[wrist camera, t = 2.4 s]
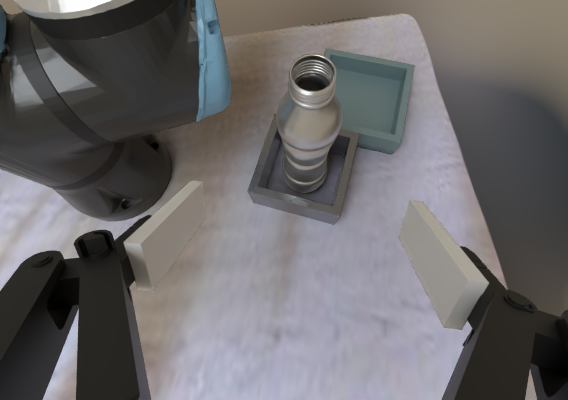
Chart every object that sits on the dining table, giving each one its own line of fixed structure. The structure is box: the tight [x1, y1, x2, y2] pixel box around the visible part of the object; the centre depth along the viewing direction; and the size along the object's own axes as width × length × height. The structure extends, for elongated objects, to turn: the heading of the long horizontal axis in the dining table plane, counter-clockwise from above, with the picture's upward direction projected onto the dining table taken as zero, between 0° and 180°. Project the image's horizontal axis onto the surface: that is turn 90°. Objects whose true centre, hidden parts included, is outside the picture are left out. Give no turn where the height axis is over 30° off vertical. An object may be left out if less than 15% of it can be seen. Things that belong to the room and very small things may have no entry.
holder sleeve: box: [248, 114, 359, 225], centre depth 36 cm, size 12×12×5 cm
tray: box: [324, 49, 415, 154], centre depth 40 cm, size 14×14×4 cm
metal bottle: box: [276, 54, 343, 193], centre depth 29 cm, size 6×7×20 cm
